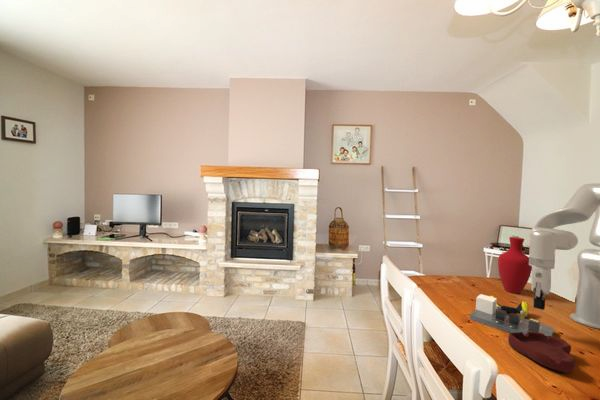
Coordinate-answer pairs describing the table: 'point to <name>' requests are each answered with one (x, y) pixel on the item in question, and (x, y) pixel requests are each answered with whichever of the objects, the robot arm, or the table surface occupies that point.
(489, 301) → the chalk-white cube
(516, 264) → the vase
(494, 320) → the panel
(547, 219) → the robot arm
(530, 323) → the toggle
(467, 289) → the table surface
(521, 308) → the gaming controller
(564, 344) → the ashtray
